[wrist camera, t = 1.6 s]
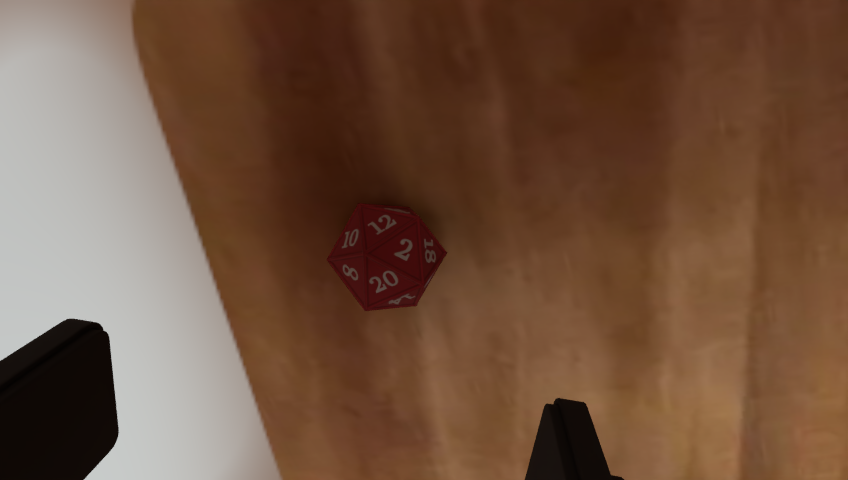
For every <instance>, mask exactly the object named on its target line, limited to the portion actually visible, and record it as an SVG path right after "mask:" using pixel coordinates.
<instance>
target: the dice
mask: <svg viewBox="0 0 848 480" xmlns="http://www.w3.org/2000/svg"><path fill="white" fill-rule="evenodd" d="M446 254H447V252H446V251H445V249H444V248H443V247H442V246H441V244H440V243H439V242H438V240H437V239H436V238H435V236H434V235H433V234H432V232H431V231H430V230H429V229H428V227H427V226H426V225H425V223H424V222H423V221H422V219H421V218H420V217H419V216H418V215H417V214H416V213H415V212H414V211H413V210H411V209H410V207H401V206H387V205H374V204H362V203H358V205H357V207H356V208H355V210H354V212H353V214H352V216H351V217H350V219H349V221H348V223H347V224H346V226H345V228H344V230H343V232H342V233H341V235H340V237H339V239H338V241H337V242H336V244H335V246H334V248H333V249H332V251H331V253H330V255H329V256H328V258H327V261H328V262H329V264H330V265H331V266H332V268H333V269H334V270H335V272H336V273H337V274H338V276H339V277H340V278H341V280H342V281H343V282H344V284H345V285H346V286H347V288H348V289H349V290H350V292H351V293H352V294H353V296H354V297H355V298H356V300H357V301H358V302H359V304H360V305H361V306H362V308H363V309H364V310H365V311H370V310H380V309H390V308H400V307H410V306H417V303H418V301H419V300H420V298H421V296H422V295H423V293H424V291H425V289H426V288H427V286H428V284H429V282H430V281H431V279H432V277H433V276H434V274H435V272H436V270H437V269H438V267H439V265H440V264H441V262H442V260H443V258H444V257H445V256H446Z"/></svg>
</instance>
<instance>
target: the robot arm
mask: <svg viewBox="0 0 848 480" xmlns="http://www.w3.org/2000/svg"><path fill="white" fill-rule="evenodd" d="M117 437H118V420H117V410H116V401H115V391H114V381H113V371H112V362H111V352H110V341H109V336H108V334H107V332H105V331H103V327H102V326H101V325H100V324H99V323H96V322H90V321H84V320H78V319H67V320H65V321H63V322H61V323H59V324H58V325H56V326H55V327H53V328H52V329H50V330H48V331H47V332H46V333H44V334H42V335H41V336H39V337H37V338H36V339H34V340H33V341H31V342H29V343H28V344H26V345H25V346H23V347H22V348H20V349H18V350H17V351H15V352H14V353H12V354H11V355H9V356H8V357H6V358H4V359H3V360H1V361H0V480H84V479H85V478H86V476H87V475H88V474H89V473H90V472H91V471H92V470H93V469H94V468H95V467H96V466H97V465H98V464H99V462H100V461H101V460H102V459H103V458H104V457H105V456H106V455H107V454H108V453H109V451H110V450H111V449H112V448H113V447H114V445H115V443H116V440H117ZM525 480H624V479H623V478H622V477H618V476H612V475H611V474H610V471H609V468H608V465H607V462H606V460H605V457H604V454H603V451H602V448H601V445H600V442H599V439H598V437H597V434H596V431H595V428H594V425H593V422H592V419H591V416H590V414H589V411H588V408H587V406H586V404H585V403H584V402H579V401H573V400H567V399H561V398H557V399H556V400H555V401H554V404H546V405H545V406H544V409H543V413H542V417H541V421H540V425H539V428H538V432H537V436H536V440H535V443H534V447H533V451H532V455H531V459H530V462H529V466H528V470H527V474H526V477H525Z"/></svg>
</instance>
